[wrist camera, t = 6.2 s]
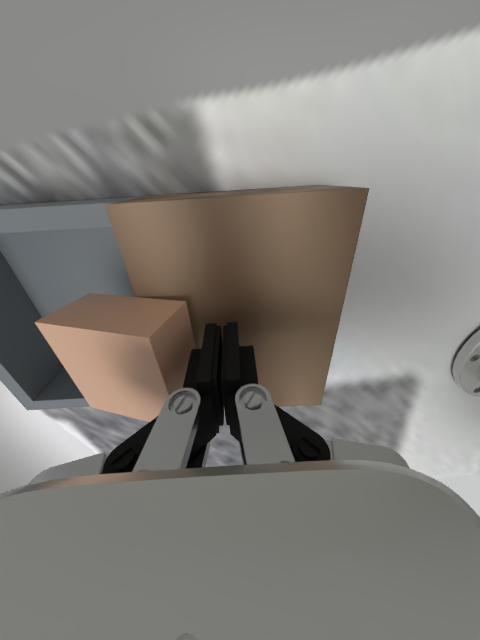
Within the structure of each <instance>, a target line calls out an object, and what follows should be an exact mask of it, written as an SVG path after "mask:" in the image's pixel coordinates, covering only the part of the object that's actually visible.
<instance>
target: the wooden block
mask: <svg viewBox="0 0 480 640" xmlns="http://www.w3.org/2000/svg"><path fill="white" fill-rule="evenodd" d="M368 192H369V188H357V187H342V186H327V185H314V186H298V187H282V188H265V189H249V190H233V191H217V192H200V193H184V194H168V195H152V196H146V197H140V198H135V199H130V200H125V201H120V202H115V203H110V204H105V207H106V210H107V213H108V216H109V219H110V222H111V225H112V228H113V231H114V234H115V237H116V240H117V243H118V245H119V248H120V251H121V254H122V257H123V260H124V263H125V266H126V269H127V272H128V275H129V278H130V281H131V284H132V287H133V290H134V293H135V296H136V297H140V298H152V299H164V300H176V301H186V304H187V308H188V313H189V318H190V322H191V327H192V332H193V336H194V341H195V346H196V349H201V348H202V342H203V336H204V331H205V325H206V324H212V323H216V324H217V326H221V334H222V343H223V326H224V325H227V323H229V322H237V324H238V339H239V346H251V345H253V347H254V354H255V361H256V369H257V376H258V383H259V385H261V386H263V387H265V388H266V389H267V390H268V391H269V393H270V395H271V398H272V401H273V403H274V404H275V405H276V406H278V407H284V406H301V405H319V404H321V401H322V397H323V392H324V388H325V384H326V379H327V375H328V370H329V366H330V361H331V357H332V352H333V348H334V343H335V339H336V334H337V330H338V325H339V321H340V317H341V312H342V308H343V303H344V299H345V294H346V290H347V285H348V281H349V276H350V272H351V267H352V263H353V259H354V254H355V250H356V245H357V241H358V236H359V232H360V227H361V223H362V218H363V214H364V209H365V205H366V201H367V196H368ZM224 410H225V409H224Z"/></svg>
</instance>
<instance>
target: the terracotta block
mask: <svg viewBox="0 0 480 640" xmlns="http://www.w3.org/2000/svg"><path fill="white" fill-rule="evenodd" d="M35 324H36V325H37V327H38V328H39V330H40V331H41V333H42V334H43V336H44V337H45V339H46V340H47V342H48V343H49V345H50V346H51V348H52V349H53V351H54V352H55V354H56V356H57V357H58V359H59V360H60V362H61V363H62V365H63V366H64V368H65V369H66V371H67V372H68V374H69V375H70V377H71V378H72V380H73V381H74V383H75V384H76V386H77V387H78V389H79V390H80V392H81V393H82V395H83V396H84V398H85V399H86V401H87V402H88V404H89V405H90V407H92V408H96V409H100V410H104V411H108V412H112V413H116V414H120V415H124V416H128V417H131V418H135V419H139V420H143V421H147V422H151V421H152V420H153V419H155V418H156V417H157V416H159V413H160V411H161V409H162V407H163V405H164V403H165V401H166V399H167V398H168V396H169V395H170V394H171V393H172V392H174V391H176V390H178V389H181V388H183V384H184V379H185V375H186V371H187V366H188V362H189V358H190V353H191V350H192V349H196V346H195V341H194V336H193V332H192V327H191V322H190V318H189V313H188V308H187V304H186V301H176V300H164V299H152V298H140V297H128V296H116V295H104V294H92V293H89V294H87V295H85V296H83V297H81V298H79V299H77V300H76V301H74V302H72V303H70V304H68V305H66V306H64V307H62V308H60V309H59V310H57V311H55V312H53V313H51V314H49V315H47V316H45V317H43V318H41V319H40V320H38V321H36V322H35Z"/></svg>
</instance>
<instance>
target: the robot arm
mask: <svg viewBox="0 0 480 640" xmlns="http://www.w3.org/2000/svg"><path fill="white" fill-rule="evenodd" d="M452 372H453V378H454V379H455V381H456V383H457V384H458V385H459V386H461V387H462V388H463V389H464V390H465V391H466V392H468V393H470V394H472V395H475V396H479V397H480V329H479V330H478V331H477V332H476V333H475V334H473V335H472V336H471V337H470V339H469V340H468V341H467V342H466V343H465V344H464V345H463V347H462V348H461V350H460V351H459V353H458V354H457V356H456V359H455V361H454V364H453V370H452ZM224 409H225V416H226V423H227V425H230V433H231V435H232V436H233V437H235V438H236V439H237V440H238V441H239V445H240V451H241V456H242V462H243V465H235V466H219V467H205V466H206V461H207V457H208V452H209V448H210V441H211V440H212V439H213V438H214V437H215V436H216V433H219V426H220V425H223V423H224ZM0 640H480V517H479V516H478V515H477V514H476V512H475V511H474V510H473V509H472V508H471V507H470V506H469V505H468V504H467V503H466V502H465V501H464V500H463V499H462V498H461V497H460V496H459V495H457V494H456V493H455V492H454V491H453V490H452V489H450V488H449V487H447V486H446V485H444V484H443V483H441V482H439V481H438V480H436V479H434V478H432V477H429V476H427V475H425V474H423V473H420V472H418V471H415V470H412V469H410V468H409V466H408V465H407V463H406V461H405V460H404V459H403V458H402V457H401V456H400V455H399V454H398V453H396V452H395V451H393V450H392V449H389V448H386V447H382V446H376V445H370V444H364V443H359V442H353V441H347V440H341V439H335V438H332V440H325V439H323V438H322V437H321V436H320V435H319V434H317V433H316V432H314V431H313V430H311V429H310V428H308V427H307V426H305V425H304V424H302V423H301V422H300V421H298V420H297V419H295V418H294V417H292V416H291V415H289V414H288V413H286V412H285V411H283V410H282V409H281V408H279V407H278V406H276V405H275V404H274V403H273V401H272V398H271V395H270V393H269V391H268V390H267V389H266V388H265V387H263V386H261V385H259V383H258V376H257V369H256V361H255V354H254V347H253V345H251V346H239V339H238V324H237V322H229V323H227V325H224V326H223V343H222V334H221V326H217V324H216V323H212V324H206V325H205V331H204V336H203V342H202V348H201V349H192V350H191V353H190V358H189V362H188V366H187V371H186V375H185V379H184V384H183V388H181V389H178V390H176V391H174V392H172V393H171V394H170V395H169V396H168V398H167V399H166V401H165V403H164V405H163V407H162V409H161V411H160V413H159V416H157V417H156V418H155V419H153V420H152V421H151V422H149V423H148V424H147V425H145V426H144V427H143V428H141V429H140V430H139V431H137V432H136V433H135V434H133V435H132V436H131V437H129V438H128V439H127V440H125V441H124V442H123V443H121V444H120V445H119V446H117V447H116V448H115V449H114V450H113V451H112V452H111V453H110V454H105V452H104V453H100V454H97V455H93V456H90V457H86V458H83V459H79V460H76V461H72V462H69V463H65V464H62V465H58V466H55V467H51V468H49V469H47V470H44V471H43V472H41V473H40V474H38V475H37V476H36V477H35V478H34V479H33V480H32V481H31V482H30V483H29V484H28V485H25V486H21V487H18V488H15V489H12V490H10V491H7V492H5V493H2V494H0Z"/></svg>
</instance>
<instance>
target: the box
mask: <svg viewBox="0 0 480 640" xmlns="http://www.w3.org/2000/svg"><path fill="white" fill-rule="evenodd" d="M140 197H146V196H136V197H119V198H103V199H87V200H71V201H55V202H38V203H22V204H6V205H0V381H1V382H2V383H3V384H4V385H5V386H6V387H7V388H8V389H9V390H10V391H11V393H12V394H13V395H14V396H15V397H16V398H17V399H18V400H19V401H20V403H21V404H22V405H23V406H24V407H25V408H26V409H27V410H38V409H55V408H73V407H90V405H89V404H88V402H87V401H86V399H85V398H84V396H83V395H82V393H81V392H80V390H79V389H78V387H77V386H76V384H75V383H74V381H73V380H72V378H71V377H70V375H69V374H68V372H67V371H66V369H65V368H64V366H63V365H62V363H61V362H60V360H59V359H58V357H57V356H56V354H55V352H54V351H53V349H52V348H51V346H50V345H49V343H48V342H47V340H46V339H45V337H44V336H43V334H42V333H41V331H40V330H39V328H38V327H37V325H36V324H35V322H36V321H38V320H40V319H41V318H43V317H45V316H47V315H49V314H51V313H53V312H55V311H57V310H59V309H60V308H62V307H64V306H66V305H68V304H70V303H72V302H74V301H76V300H77V299H79V298H81V297H83V296H85V295H87V294H89V293H92V294H104V295H116V296H128V297H136V296H135V293H134V290H133V287H132V284H131V281H130V278H129V275H128V272H127V269H126V266H125V263H124V260H123V257H122V254H121V251H120V248H119V245H118V243H117V240H116V237H115V234H114V231H113V228H112V225H111V222H110V219H109V216H108V213H107V210H106V207H105V204H110V203H115V202H120V201H125V200H130V199H135V198H140Z"/></svg>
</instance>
